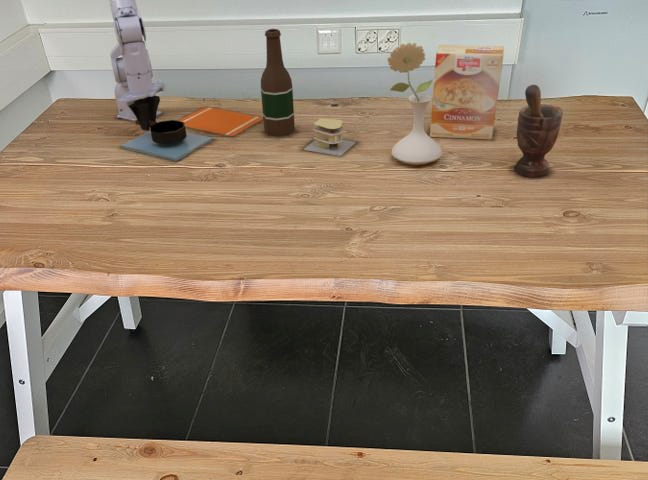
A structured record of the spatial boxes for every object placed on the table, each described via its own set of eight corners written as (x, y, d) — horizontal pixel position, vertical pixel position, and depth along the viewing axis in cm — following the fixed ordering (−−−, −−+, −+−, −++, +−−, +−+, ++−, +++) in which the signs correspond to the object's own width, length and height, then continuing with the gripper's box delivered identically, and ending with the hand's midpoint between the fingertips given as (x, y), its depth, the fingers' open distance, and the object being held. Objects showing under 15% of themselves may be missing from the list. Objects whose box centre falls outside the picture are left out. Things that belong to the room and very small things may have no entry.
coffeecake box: (429, 137, 166) (435, 52, 153) (431, 126, 171) (438, 43, 159) (492, 140, 163) (503, 54, 150) (493, 129, 168) (504, 45, 156)
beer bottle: (296, 126, 175) (291, 25, 160) (293, 138, 170) (287, 34, 154) (266, 126, 176) (258, 26, 161) (262, 138, 170) (253, 35, 155)
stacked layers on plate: (302, 149, 164) (301, 127, 160) (319, 136, 170) (318, 114, 166) (340, 156, 160) (340, 133, 156) (356, 142, 166) (356, 119, 162)
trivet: (121, 148, 170) (120, 145, 169) (159, 129, 179) (158, 126, 178) (176, 161, 162) (175, 158, 161) (213, 140, 171) (212, 137, 170)
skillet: (193, 134, 169) (191, 122, 167) (171, 146, 164) (168, 134, 162) (151, 125, 176) (148, 113, 174) (128, 136, 170) (125, 124, 168)
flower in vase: (444, 150, 159) (454, 35, 143) (438, 171, 151) (448, 51, 135) (388, 147, 162) (392, 34, 146) (380, 167, 154) (382, 49, 138)
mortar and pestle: (549, 187, 142) (568, 89, 130) (507, 183, 145) (521, 86, 132) (552, 164, 151) (570, 70, 138) (512, 161, 153) (526, 68, 140)
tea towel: (172, 124, 181) (172, 123, 180) (205, 107, 190) (205, 106, 189) (232, 137, 172) (232, 136, 172) (264, 119, 181) (264, 117, 180)
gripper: (128, 82, 155) (140, 141, 164) (170, 65, 165) (179, 121, 173) (106, 78, 159) (119, 136, 167) (149, 61, 168) (159, 116, 176)
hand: (148, 128), depth 170 cm, fingers closed on skillet, 2 cm apart
